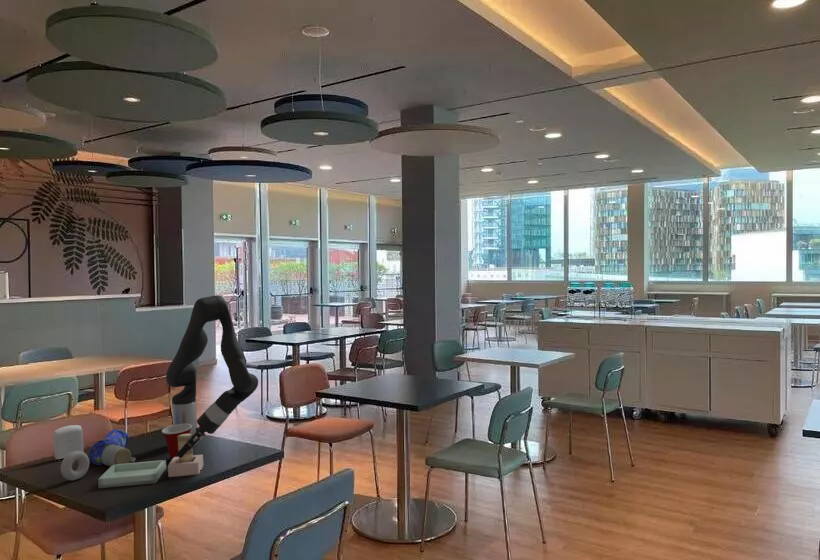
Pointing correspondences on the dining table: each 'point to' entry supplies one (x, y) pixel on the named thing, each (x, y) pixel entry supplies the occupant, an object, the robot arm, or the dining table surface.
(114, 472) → the tray
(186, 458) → the dowel
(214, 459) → the dining table surface
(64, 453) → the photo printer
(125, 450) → the ceramic mug
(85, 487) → the dining table surface
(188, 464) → the socket block
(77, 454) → the donut
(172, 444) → the plastic cup
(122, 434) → the pencil case
